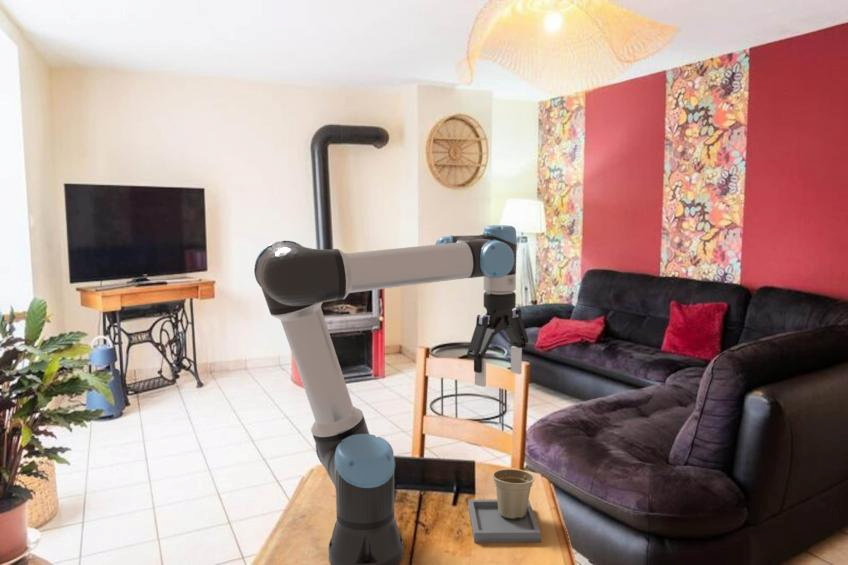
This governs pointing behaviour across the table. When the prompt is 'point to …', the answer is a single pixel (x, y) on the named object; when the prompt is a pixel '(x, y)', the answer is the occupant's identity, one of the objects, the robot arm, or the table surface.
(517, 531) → the plant tray
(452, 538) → the table surface
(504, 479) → the flower pot
